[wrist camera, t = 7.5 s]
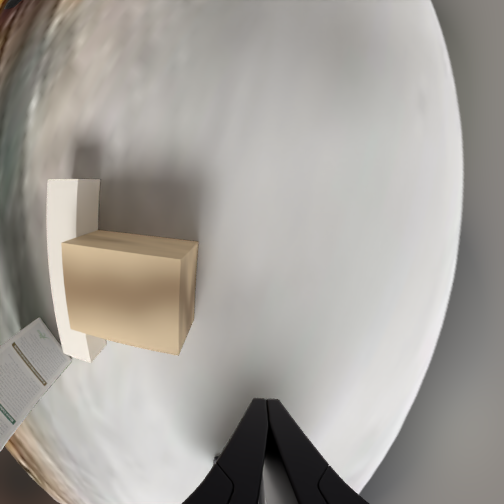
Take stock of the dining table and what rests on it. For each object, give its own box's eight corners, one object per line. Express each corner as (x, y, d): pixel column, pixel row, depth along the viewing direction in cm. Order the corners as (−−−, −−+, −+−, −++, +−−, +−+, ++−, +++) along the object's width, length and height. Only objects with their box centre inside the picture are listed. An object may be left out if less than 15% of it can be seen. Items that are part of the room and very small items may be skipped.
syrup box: (39, 314, 20) (-56, 390, 6) (75, 361, 21) (-3, 456, 7) (22, 335, 21) (-56, 402, 7) (54, 377, 22) (-13, 457, 8)
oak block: (194, 319, 20) (178, 355, 15) (102, 301, 20) (70, 328, 15) (199, 241, 19) (180, 259, 14) (99, 229, 19) (61, 242, 14)
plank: (106, 344, 21) (91, 363, 18) (80, 337, 21) (63, 353, 18) (100, 179, 17) (78, 179, 15) (71, 179, 17) (47, 179, 14)
